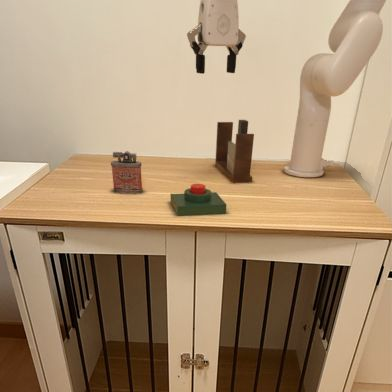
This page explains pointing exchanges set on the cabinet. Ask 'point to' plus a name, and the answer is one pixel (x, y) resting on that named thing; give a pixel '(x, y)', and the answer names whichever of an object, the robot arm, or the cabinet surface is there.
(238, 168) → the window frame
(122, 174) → the lighter
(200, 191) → the button
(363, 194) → the cabinet surface
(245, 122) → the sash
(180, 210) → the alarm box
